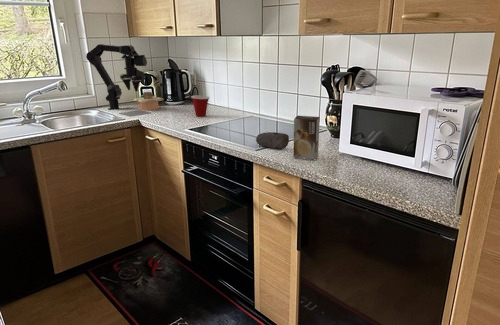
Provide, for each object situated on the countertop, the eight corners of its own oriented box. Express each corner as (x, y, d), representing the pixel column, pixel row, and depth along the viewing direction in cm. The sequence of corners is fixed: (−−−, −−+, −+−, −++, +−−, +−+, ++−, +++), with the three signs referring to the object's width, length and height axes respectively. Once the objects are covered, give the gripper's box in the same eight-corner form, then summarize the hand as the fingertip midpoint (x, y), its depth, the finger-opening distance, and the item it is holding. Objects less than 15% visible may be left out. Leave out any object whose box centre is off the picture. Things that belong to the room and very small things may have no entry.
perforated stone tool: (253, 146, 165) (253, 131, 162) (259, 143, 169) (259, 128, 167) (284, 151, 157) (284, 135, 155) (289, 148, 162) (290, 132, 160)
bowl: (136, 109, 249) (135, 100, 247) (152, 107, 257) (151, 98, 255) (146, 111, 241) (145, 102, 239) (162, 109, 249) (161, 100, 247)
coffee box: (318, 156, 151) (320, 116, 146) (315, 160, 146) (317, 119, 140) (296, 153, 154) (297, 115, 149) (292, 158, 149) (293, 118, 144)
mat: (118, 114, 234) (118, 113, 234) (139, 110, 244) (139, 110, 244) (130, 117, 224) (130, 116, 224) (152, 114, 235) (152, 113, 234)
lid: (133, 100, 247) (132, 92, 245) (151, 97, 257) (151, 90, 255) (144, 102, 238) (143, 94, 236) (163, 100, 247) (162, 92, 246)
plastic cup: (209, 117, 222) (208, 97, 219) (190, 117, 223) (189, 97, 219) (211, 114, 233) (210, 94, 229) (193, 114, 233) (192, 94, 229)
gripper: (149, 66, 238) (151, 90, 243) (134, 64, 250) (136, 88, 255) (133, 67, 230) (136, 92, 236) (118, 65, 243) (121, 89, 248)
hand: (132, 90), depth 244 cm, fingers open, 9 cm apart
